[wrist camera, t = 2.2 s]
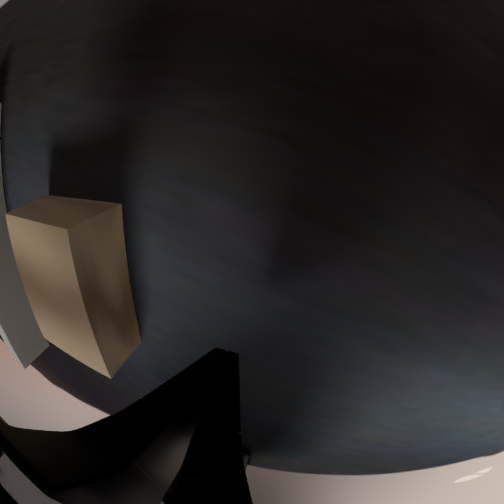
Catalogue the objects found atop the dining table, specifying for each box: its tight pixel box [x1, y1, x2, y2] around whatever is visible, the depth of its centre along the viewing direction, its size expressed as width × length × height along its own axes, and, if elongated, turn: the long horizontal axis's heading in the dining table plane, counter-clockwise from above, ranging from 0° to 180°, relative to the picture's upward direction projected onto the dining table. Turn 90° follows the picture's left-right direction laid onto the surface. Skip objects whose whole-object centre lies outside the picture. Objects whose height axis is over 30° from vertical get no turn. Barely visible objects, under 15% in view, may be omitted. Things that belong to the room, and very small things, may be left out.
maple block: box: [5, 195, 142, 378], centre depth 12 cm, size 8×6×4 cm
